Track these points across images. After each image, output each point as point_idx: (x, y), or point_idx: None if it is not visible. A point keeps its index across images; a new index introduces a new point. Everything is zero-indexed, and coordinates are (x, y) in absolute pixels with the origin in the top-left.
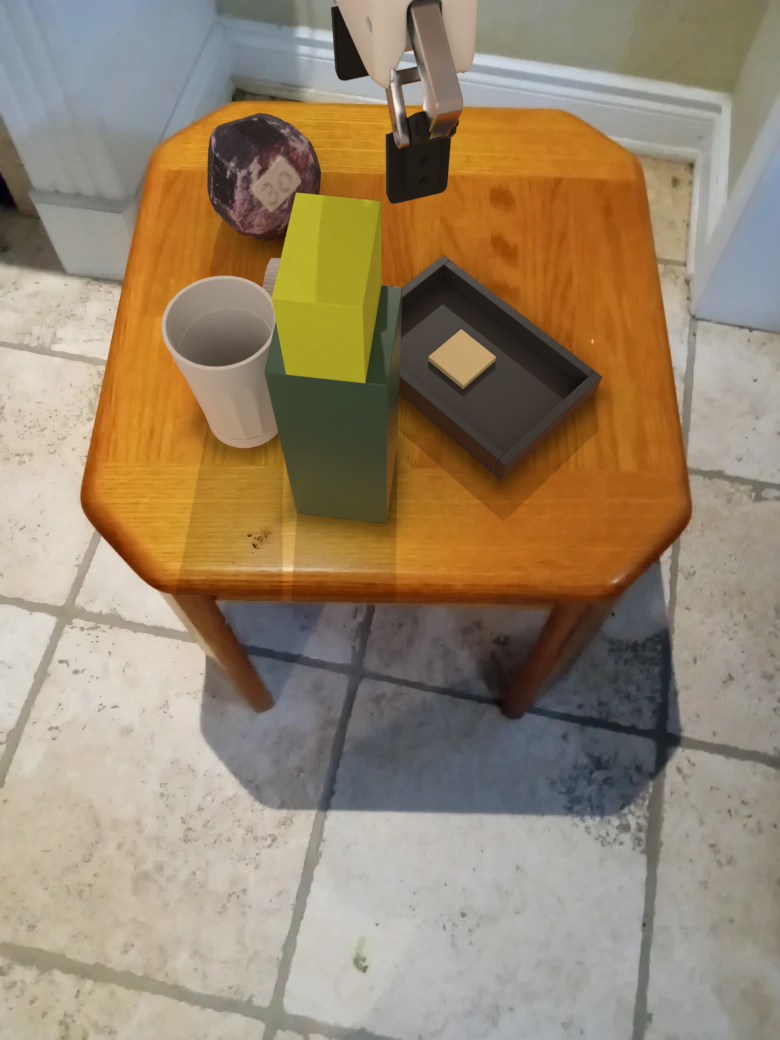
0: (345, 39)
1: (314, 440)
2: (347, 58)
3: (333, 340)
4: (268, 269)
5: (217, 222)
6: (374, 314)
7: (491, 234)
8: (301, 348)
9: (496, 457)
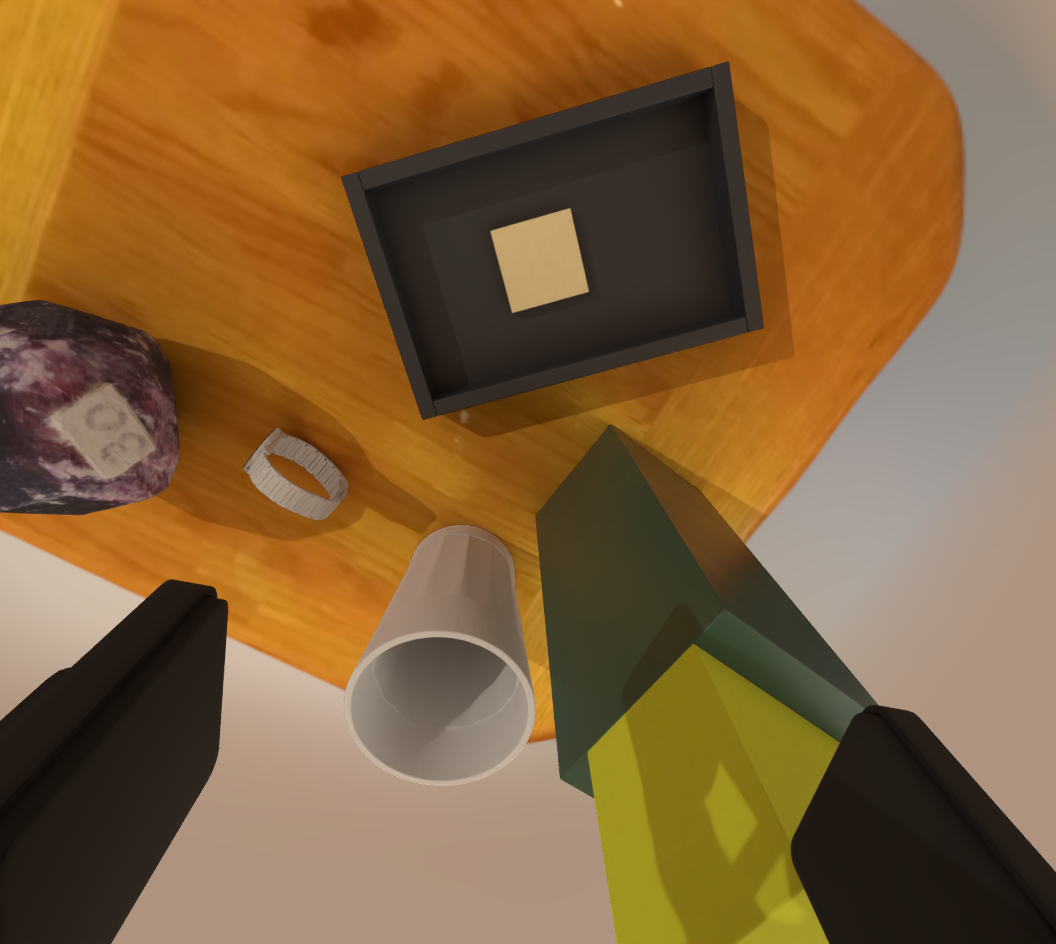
0: (109, 917)
1: None
2: (169, 821)
3: None
4: (277, 499)
5: None
6: (794, 729)
7: (301, 26)
8: None
9: (743, 332)
